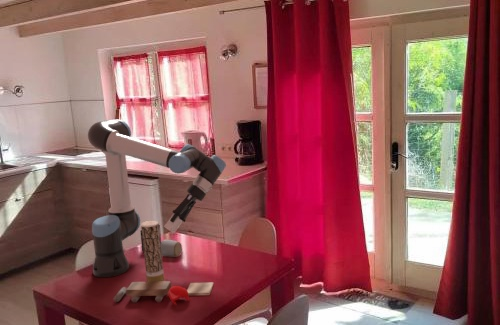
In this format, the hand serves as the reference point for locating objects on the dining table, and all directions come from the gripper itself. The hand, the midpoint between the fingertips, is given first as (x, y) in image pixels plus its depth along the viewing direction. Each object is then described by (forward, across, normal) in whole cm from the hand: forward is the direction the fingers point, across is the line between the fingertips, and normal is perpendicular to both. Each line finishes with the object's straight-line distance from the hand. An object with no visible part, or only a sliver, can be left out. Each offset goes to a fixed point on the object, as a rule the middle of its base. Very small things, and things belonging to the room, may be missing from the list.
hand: (168, 230), depth 193 cm
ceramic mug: (+8, +30, -3) cm, 31 cm away
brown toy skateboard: (+26, -10, -9) cm, 29 cm away
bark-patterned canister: (+20, +1, -8) cm, 22 cm away
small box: (+12, +42, +9) cm, 44 cm away
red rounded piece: (+19, -16, -22) cm, 33 cm away
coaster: (+11, -8, -25) cm, 28 cm away
